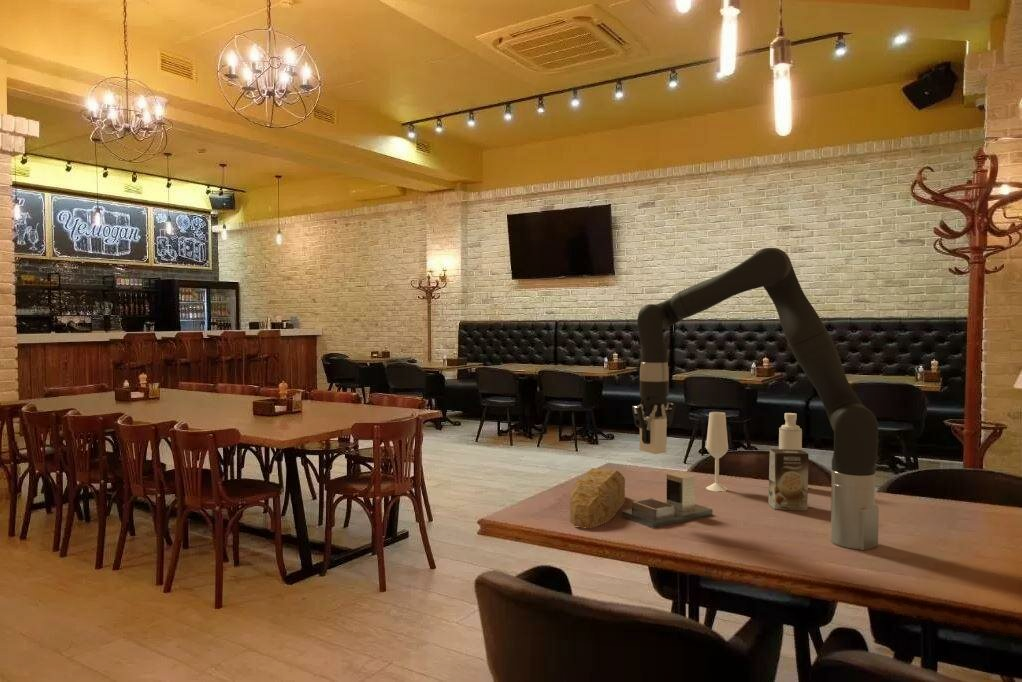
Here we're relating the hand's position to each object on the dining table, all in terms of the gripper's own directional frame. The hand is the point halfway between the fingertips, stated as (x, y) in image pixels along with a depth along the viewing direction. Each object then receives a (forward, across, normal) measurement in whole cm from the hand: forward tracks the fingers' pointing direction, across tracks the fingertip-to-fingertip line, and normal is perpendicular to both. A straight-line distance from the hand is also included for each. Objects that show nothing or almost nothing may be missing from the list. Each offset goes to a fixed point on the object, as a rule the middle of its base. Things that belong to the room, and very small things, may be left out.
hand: (653, 442), depth 181 cm
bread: (+21, -7, +15) cm, 27 cm away
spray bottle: (+21, +60, +2) cm, 64 cm away
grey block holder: (+21, +5, 0) cm, 21 cm away
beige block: (+2, 0, 0) cm, 2 cm away
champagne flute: (+21, +39, +13) cm, 46 cm away
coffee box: (+21, +40, -12) cm, 47 cm away
